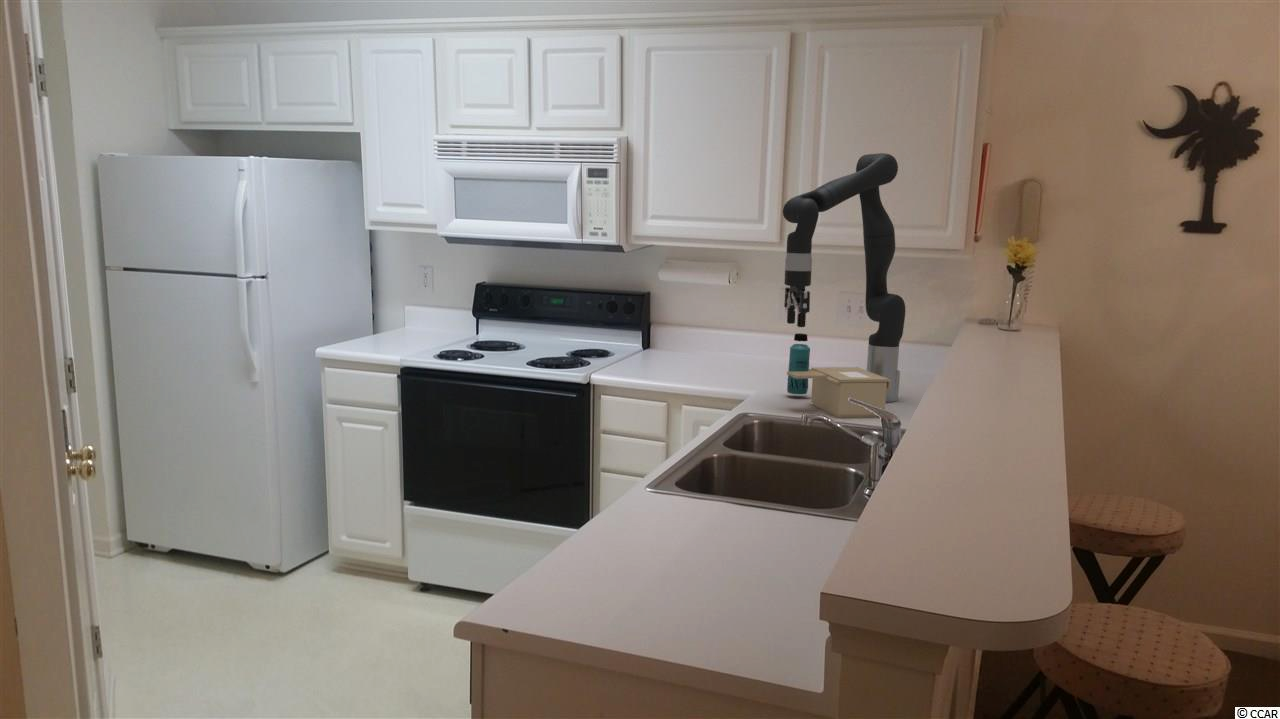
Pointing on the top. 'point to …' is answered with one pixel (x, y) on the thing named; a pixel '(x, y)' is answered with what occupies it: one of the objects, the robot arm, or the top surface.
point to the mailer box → (837, 397)
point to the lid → (841, 375)
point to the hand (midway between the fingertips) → (795, 325)
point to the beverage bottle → (798, 365)
